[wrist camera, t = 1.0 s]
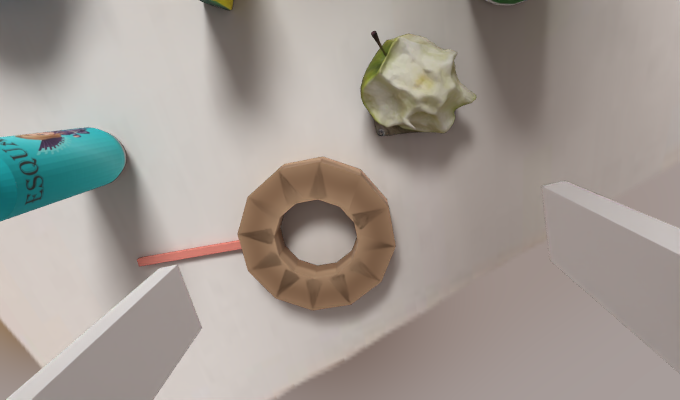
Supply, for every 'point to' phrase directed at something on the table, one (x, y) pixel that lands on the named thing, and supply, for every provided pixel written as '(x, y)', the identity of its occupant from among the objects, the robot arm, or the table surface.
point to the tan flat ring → (302, 277)
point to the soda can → (505, 2)
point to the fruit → (412, 86)
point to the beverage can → (55, 167)
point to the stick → (189, 253)
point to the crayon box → (220, 3)
